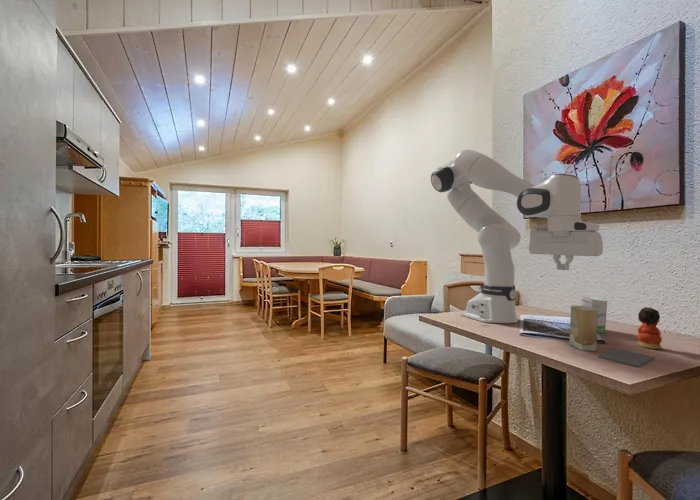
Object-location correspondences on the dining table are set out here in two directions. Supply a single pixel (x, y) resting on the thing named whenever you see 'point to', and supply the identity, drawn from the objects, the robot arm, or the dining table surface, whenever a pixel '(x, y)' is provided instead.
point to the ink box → (597, 305)
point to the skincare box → (583, 328)
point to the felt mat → (626, 357)
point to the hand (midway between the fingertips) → (562, 269)
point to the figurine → (649, 329)
